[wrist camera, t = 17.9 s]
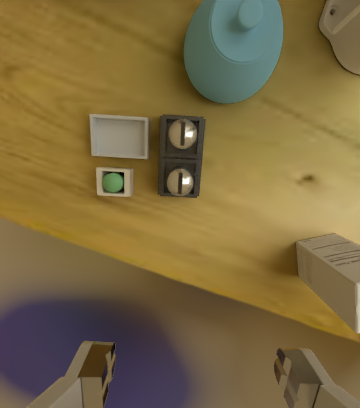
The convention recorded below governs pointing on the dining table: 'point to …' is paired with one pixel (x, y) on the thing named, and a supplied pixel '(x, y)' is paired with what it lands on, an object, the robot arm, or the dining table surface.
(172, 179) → the cylinder
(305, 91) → the dining table surface
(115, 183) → the button
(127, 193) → the box
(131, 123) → the tote
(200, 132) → the dark two-compartment tray
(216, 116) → the dining table surface
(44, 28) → the dining table surface
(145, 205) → the dining table surface
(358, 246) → the supplement box
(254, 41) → the sugar bowl
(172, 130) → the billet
